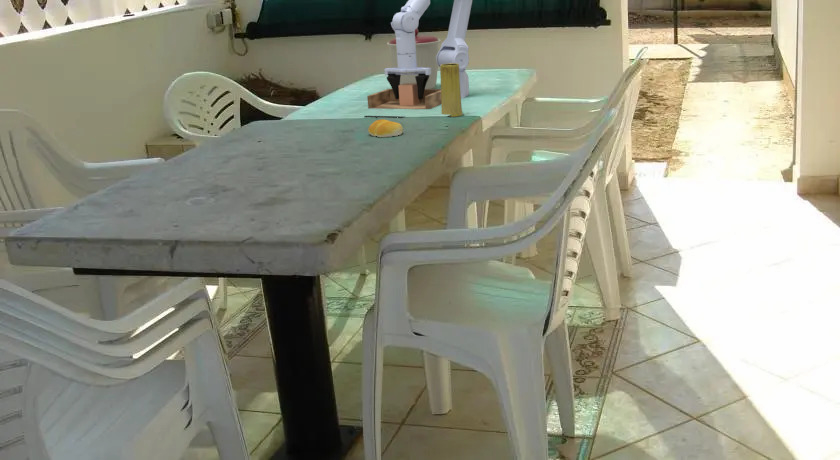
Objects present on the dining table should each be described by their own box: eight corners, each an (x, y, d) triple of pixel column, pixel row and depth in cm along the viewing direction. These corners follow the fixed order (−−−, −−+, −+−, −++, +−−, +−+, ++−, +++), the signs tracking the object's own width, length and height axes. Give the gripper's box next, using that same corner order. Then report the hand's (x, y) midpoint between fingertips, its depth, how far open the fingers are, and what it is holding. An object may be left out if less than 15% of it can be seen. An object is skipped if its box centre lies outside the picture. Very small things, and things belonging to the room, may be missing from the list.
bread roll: (385, 139, 222) (384, 124, 221) (363, 135, 229) (362, 120, 228) (410, 134, 227) (409, 118, 226) (388, 130, 234) (387, 115, 233)
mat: (379, 111, 263) (379, 110, 263) (416, 111, 258) (416, 110, 258) (364, 117, 255) (364, 116, 255) (401, 118, 250) (401, 117, 250)
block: (405, 102, 271) (404, 83, 269) (419, 103, 269) (418, 83, 267) (399, 105, 267) (398, 85, 265) (413, 105, 265) (412, 85, 263)
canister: (381, 90, 305) (377, 28, 299) (429, 85, 312) (425, 24, 306) (403, 96, 289) (399, 30, 283) (452, 90, 297) (449, 26, 290)
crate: (388, 103, 278) (387, 88, 276) (447, 103, 269) (447, 89, 268) (368, 110, 265) (367, 95, 264) (429, 111, 257) (428, 96, 256)
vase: (463, 113, 252) (461, 62, 248) (462, 116, 246) (459, 65, 242) (441, 114, 253) (439, 63, 248) (440, 117, 247) (437, 66, 243)
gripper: (378, 55, 263) (381, 100, 267) (423, 54, 257) (425, 101, 261) (389, 52, 269) (392, 97, 273) (432, 51, 263) (435, 97, 267)
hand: (409, 98), depth 268 cm, fingers open, 7 cm apart
